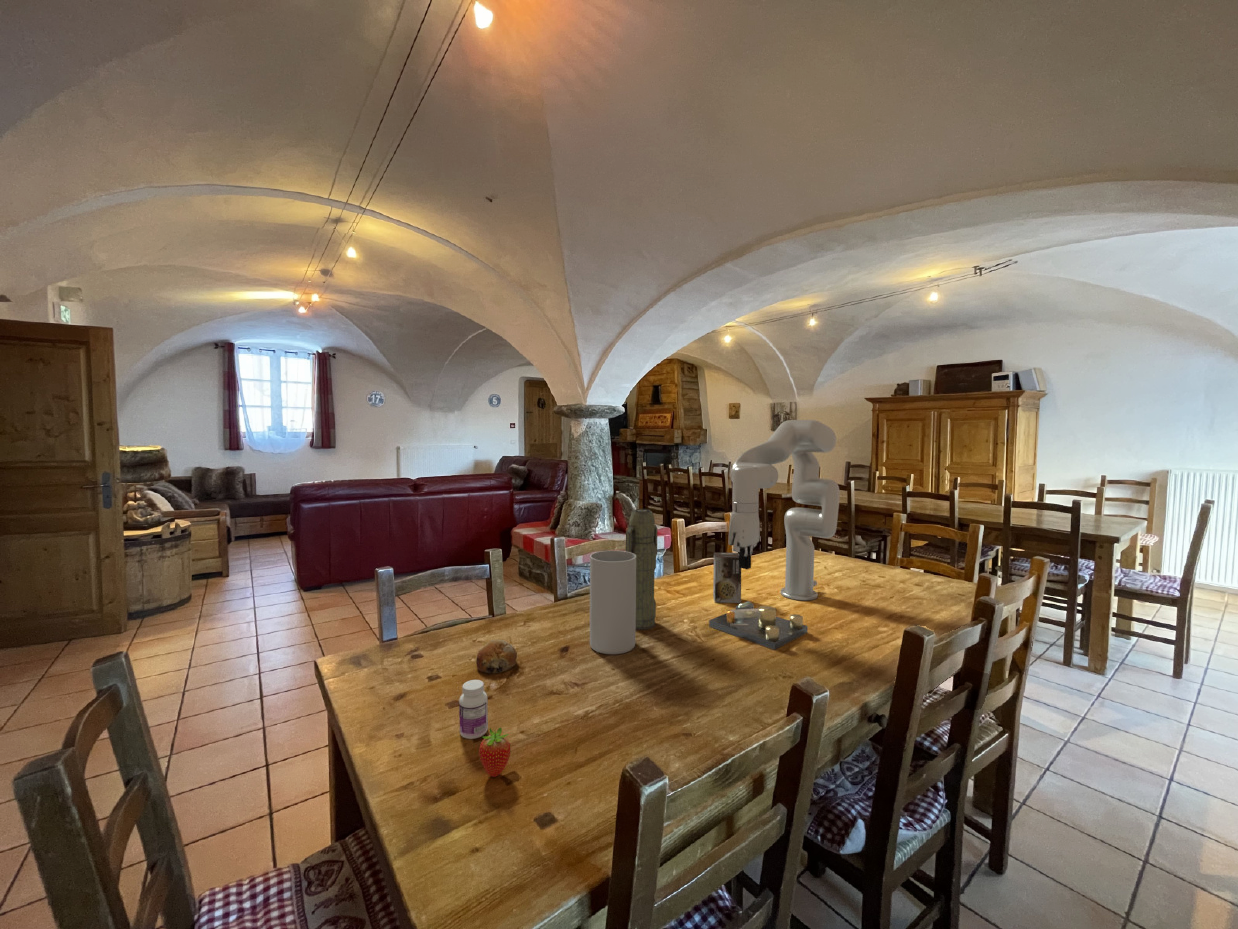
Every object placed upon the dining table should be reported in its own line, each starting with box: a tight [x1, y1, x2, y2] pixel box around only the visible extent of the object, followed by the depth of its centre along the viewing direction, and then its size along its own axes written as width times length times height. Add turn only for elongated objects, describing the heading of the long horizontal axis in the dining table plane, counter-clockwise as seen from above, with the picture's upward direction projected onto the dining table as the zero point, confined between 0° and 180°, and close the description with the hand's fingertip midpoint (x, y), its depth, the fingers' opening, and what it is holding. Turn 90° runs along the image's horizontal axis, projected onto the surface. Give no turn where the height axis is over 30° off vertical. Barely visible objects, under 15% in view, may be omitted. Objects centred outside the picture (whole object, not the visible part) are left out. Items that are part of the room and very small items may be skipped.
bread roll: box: [475, 639, 518, 675], centre depth 130 cm, size 10×10×8 cm
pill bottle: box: [458, 679, 489, 740], centre depth 101 cm, size 5×5×10 cm
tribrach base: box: [708, 601, 809, 651], centre depth 153 cm, size 18×22×5 cm
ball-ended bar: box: [726, 605, 777, 629], centre depth 150 cm, size 15×5×5 cm, turn 98°
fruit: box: [478, 727, 511, 778], centre depth 88 cm, size 5×5×8 cm
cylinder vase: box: [589, 550, 637, 655], centre depth 141 cm, size 12×12×25 cm
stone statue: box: [625, 508, 658, 631], centre depth 156 cm, size 9×12×35 cm
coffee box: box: [712, 552, 742, 604], centre depth 179 cm, size 9×6×16 cm
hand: (744, 567), depth 155 cm, fingers closed
